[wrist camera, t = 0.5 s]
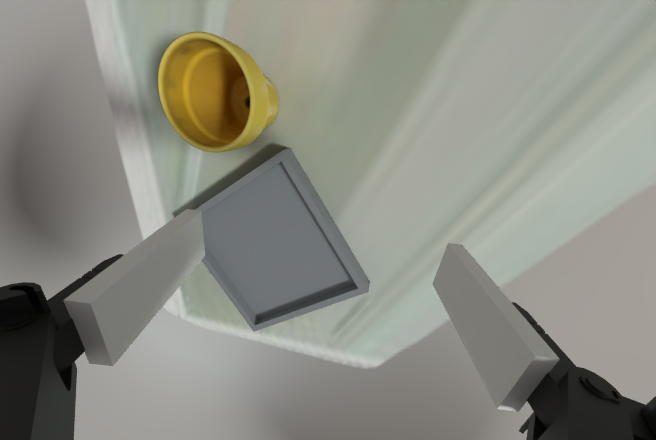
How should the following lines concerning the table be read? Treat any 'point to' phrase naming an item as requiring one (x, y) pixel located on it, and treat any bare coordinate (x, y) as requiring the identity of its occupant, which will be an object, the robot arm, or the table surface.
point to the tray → (277, 245)
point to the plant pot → (214, 93)
